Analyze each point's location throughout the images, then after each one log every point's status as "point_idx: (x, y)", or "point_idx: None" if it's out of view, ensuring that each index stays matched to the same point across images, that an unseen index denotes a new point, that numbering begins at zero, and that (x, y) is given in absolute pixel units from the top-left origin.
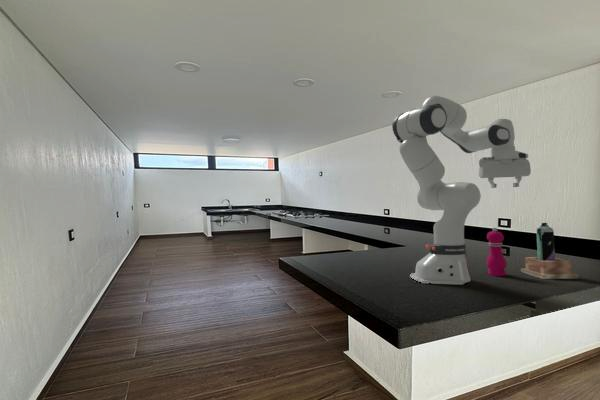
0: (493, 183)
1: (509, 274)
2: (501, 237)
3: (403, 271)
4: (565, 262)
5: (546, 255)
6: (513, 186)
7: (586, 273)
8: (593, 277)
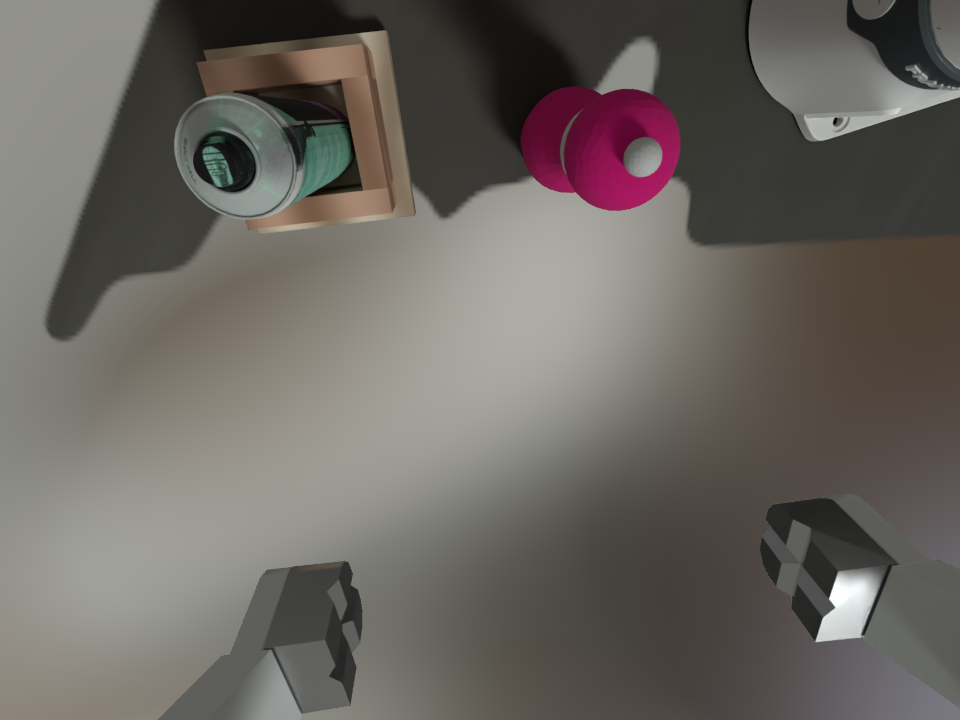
0: (930, 563)
1: (498, 144)
2: (603, 95)
3: (955, 195)
4: (234, 60)
5: (311, 104)
6: (359, 621)
7: (126, 186)
8: (130, 86)
